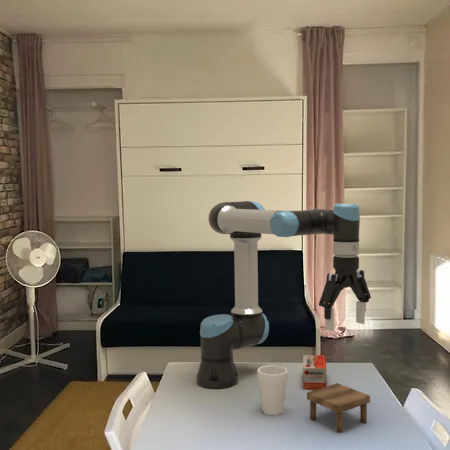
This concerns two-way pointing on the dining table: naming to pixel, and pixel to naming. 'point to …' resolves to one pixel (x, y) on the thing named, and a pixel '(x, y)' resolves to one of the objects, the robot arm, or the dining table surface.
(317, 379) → the medicine box
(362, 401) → the stool
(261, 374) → the foam cup
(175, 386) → the dining table surface
